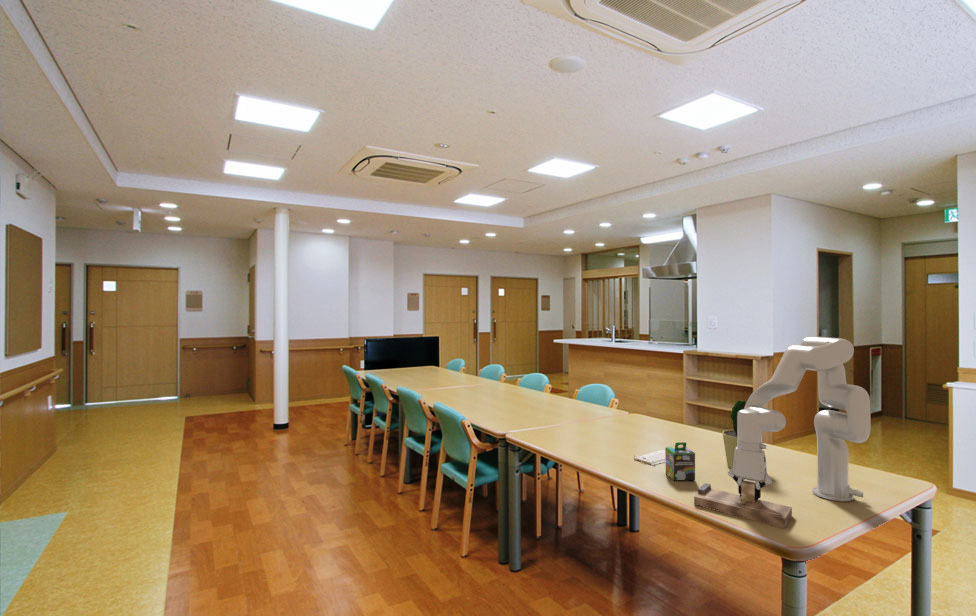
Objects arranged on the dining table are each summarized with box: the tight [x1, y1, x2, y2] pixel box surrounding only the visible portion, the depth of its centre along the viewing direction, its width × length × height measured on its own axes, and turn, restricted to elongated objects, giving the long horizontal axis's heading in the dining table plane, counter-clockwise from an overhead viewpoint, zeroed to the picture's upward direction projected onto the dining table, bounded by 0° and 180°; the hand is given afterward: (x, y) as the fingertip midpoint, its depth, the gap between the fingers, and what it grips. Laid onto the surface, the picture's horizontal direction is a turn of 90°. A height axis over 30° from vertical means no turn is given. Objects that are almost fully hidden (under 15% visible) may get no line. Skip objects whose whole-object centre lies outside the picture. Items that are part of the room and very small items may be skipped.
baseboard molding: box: [633, 449, 666, 466], centre depth 229 cm, size 31×3×12 cm
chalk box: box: [665, 441, 696, 482], centre depth 202 cm, size 9×9×15 cm
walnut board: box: [693, 482, 793, 529], centre depth 169 cm, size 28×12×4 cm, turn 49°
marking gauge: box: [741, 478, 756, 506], centre depth 169 cm, size 4×12×8 cm, turn 139°
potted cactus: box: [722, 399, 748, 469], centre depth 214 cm, size 15×15×30 cm
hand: (749, 497), depth 171 cm, fingers closed on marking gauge, 4 cm apart
